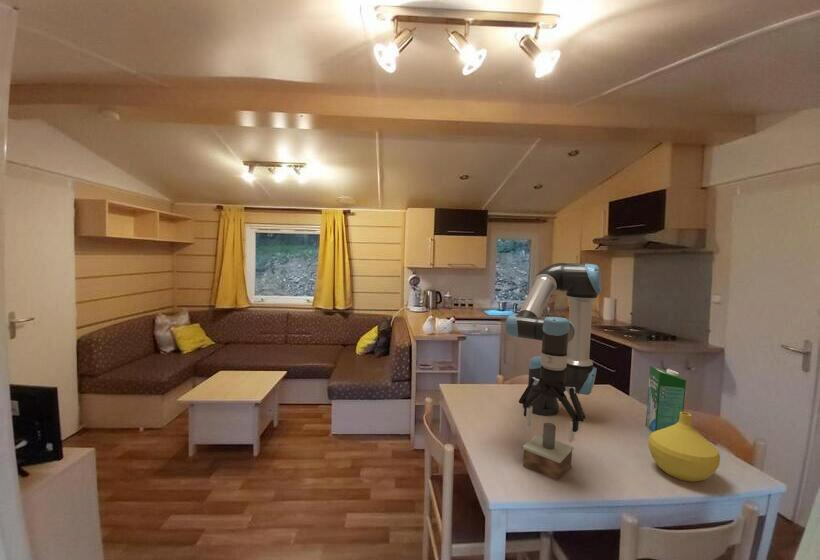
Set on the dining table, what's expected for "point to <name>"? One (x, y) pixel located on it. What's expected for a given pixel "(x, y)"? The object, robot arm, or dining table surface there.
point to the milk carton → (664, 398)
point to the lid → (548, 445)
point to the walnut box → (547, 464)
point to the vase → (683, 451)
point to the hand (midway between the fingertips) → (549, 433)
